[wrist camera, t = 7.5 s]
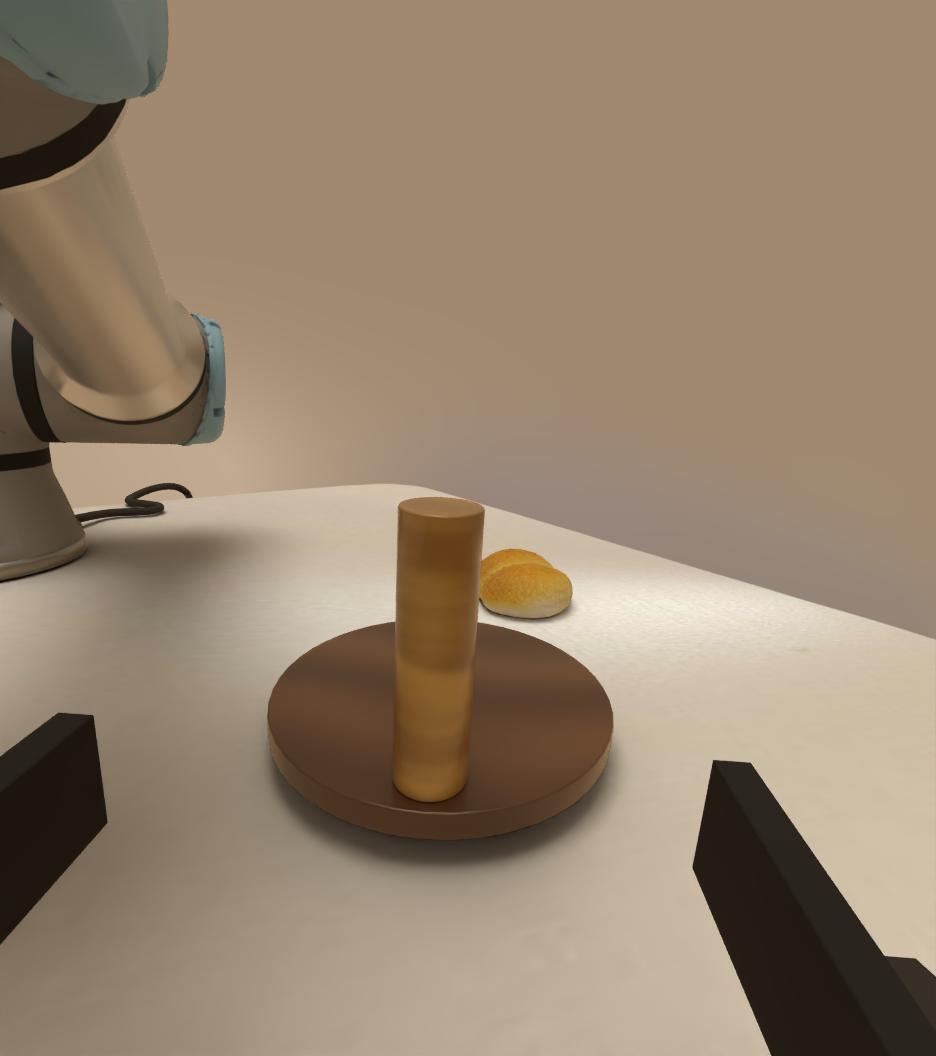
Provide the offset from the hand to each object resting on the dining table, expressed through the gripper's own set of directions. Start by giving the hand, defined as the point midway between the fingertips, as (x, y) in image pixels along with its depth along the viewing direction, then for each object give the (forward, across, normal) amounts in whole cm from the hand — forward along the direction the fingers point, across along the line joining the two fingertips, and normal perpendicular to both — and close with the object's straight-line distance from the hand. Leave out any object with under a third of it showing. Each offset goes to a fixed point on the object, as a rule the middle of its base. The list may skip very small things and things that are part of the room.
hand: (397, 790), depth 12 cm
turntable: (+15, 0, -8) cm, 17 cm away
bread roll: (+34, +5, -9) cm, 36 cm away
